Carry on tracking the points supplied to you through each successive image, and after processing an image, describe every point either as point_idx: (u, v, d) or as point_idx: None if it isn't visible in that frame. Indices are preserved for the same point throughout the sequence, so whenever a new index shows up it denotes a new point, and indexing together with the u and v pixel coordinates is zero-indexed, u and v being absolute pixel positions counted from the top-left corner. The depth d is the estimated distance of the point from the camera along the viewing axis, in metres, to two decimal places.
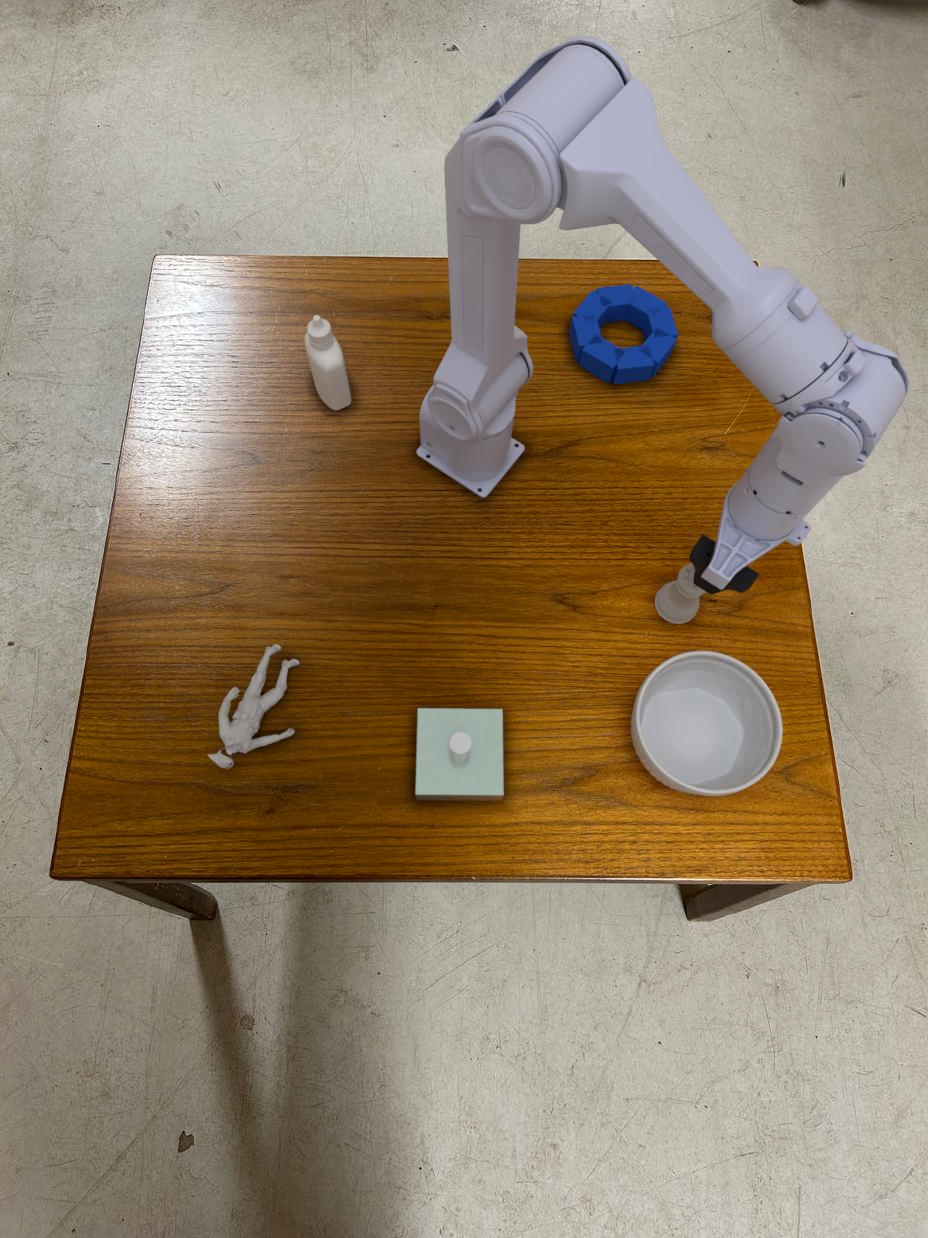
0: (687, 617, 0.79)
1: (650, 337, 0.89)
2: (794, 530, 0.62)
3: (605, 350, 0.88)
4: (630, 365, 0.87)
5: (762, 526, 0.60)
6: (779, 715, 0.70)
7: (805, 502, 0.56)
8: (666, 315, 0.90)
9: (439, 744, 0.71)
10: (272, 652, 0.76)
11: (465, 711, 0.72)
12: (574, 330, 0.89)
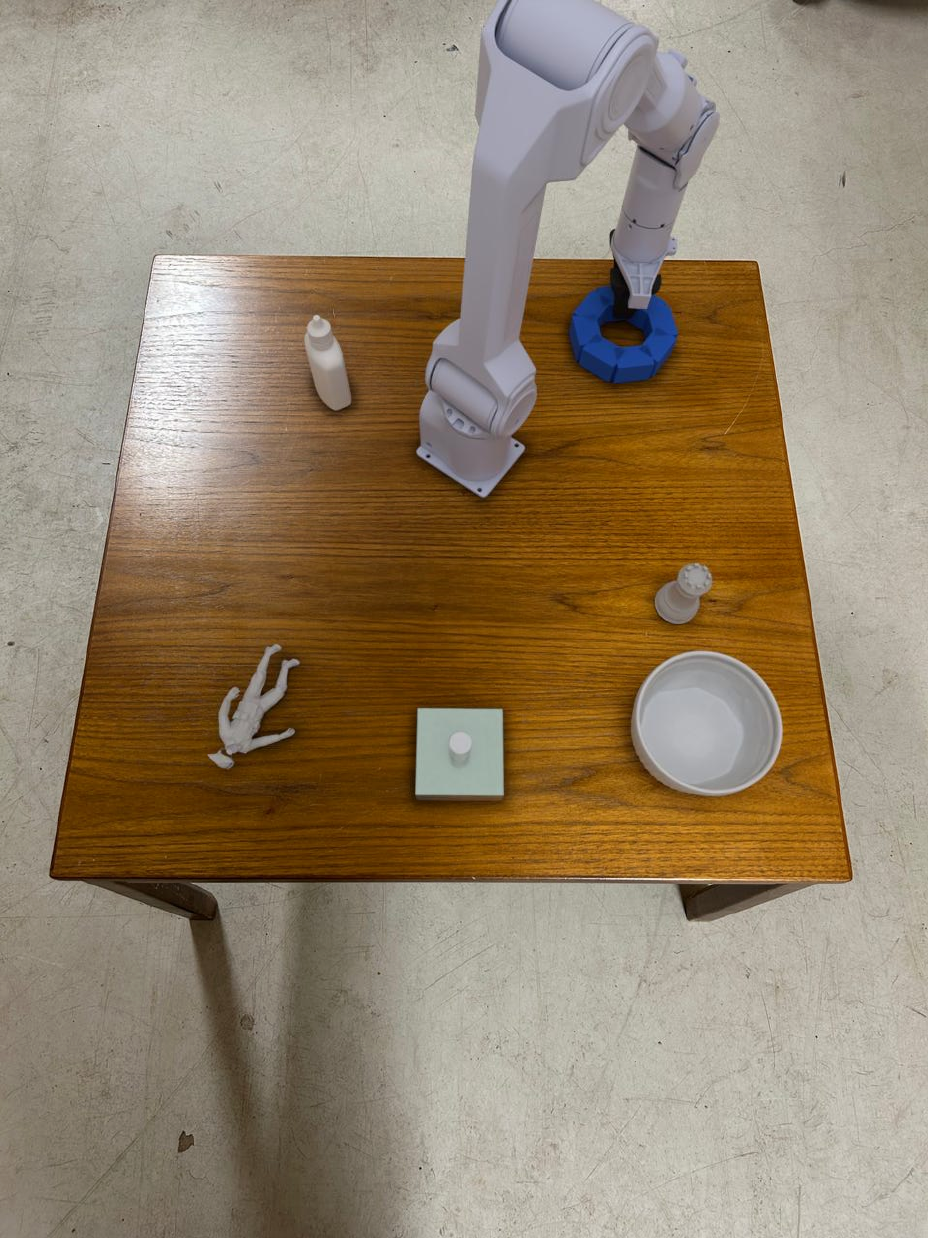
0: (687, 617, 0.79)
1: (650, 336, 0.89)
2: (668, 245, 0.83)
3: (605, 349, 0.88)
4: (630, 364, 0.87)
5: (650, 248, 0.81)
6: (779, 715, 0.70)
7: None
8: (666, 314, 0.90)
9: (439, 744, 0.71)
10: (272, 652, 0.76)
11: (465, 711, 0.72)
12: (574, 329, 0.89)
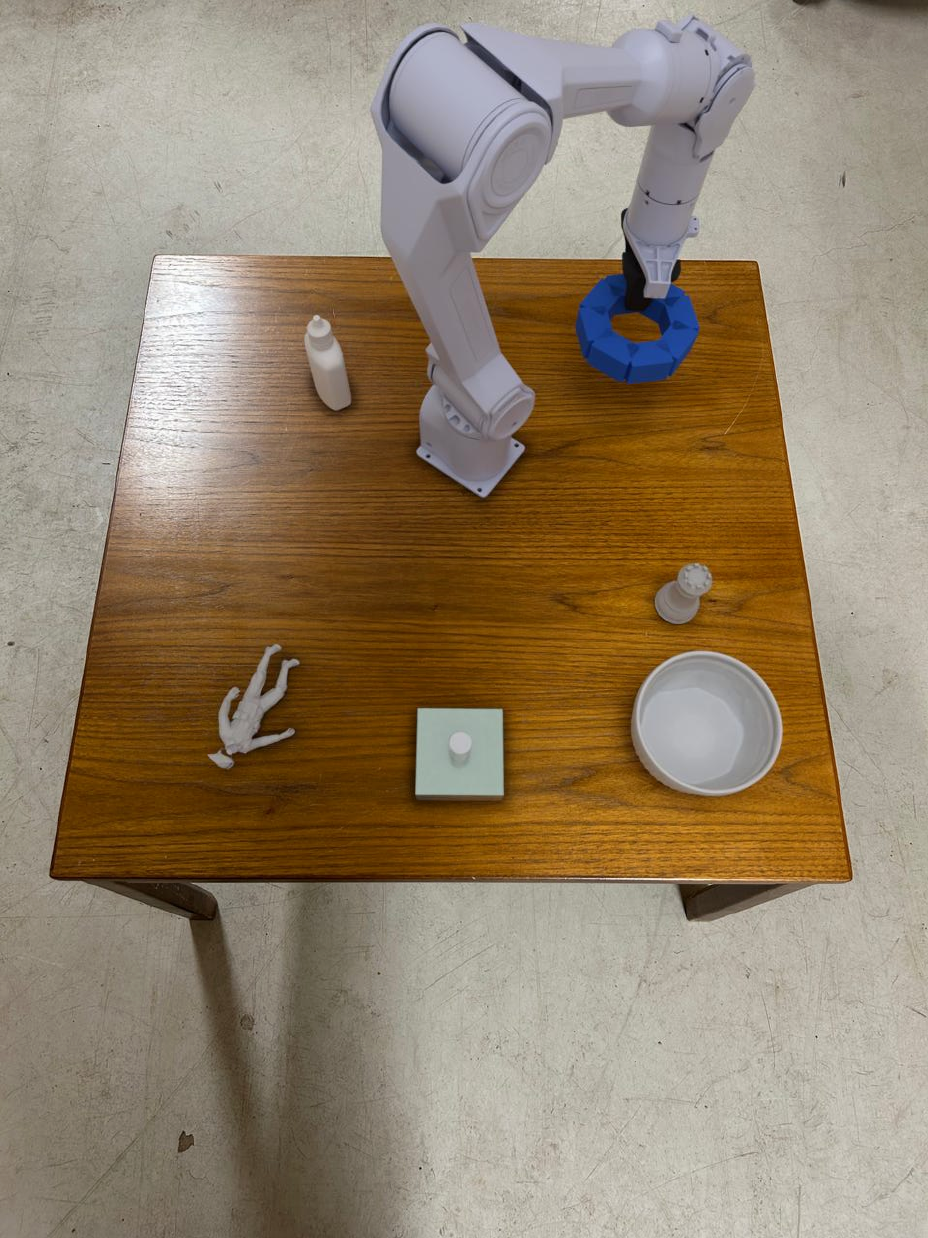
0: (687, 617, 0.79)
1: (668, 330, 0.78)
2: (688, 225, 0.73)
3: (617, 345, 0.77)
4: (646, 362, 0.77)
5: (670, 228, 0.70)
6: (779, 715, 0.70)
7: None
8: (685, 306, 0.79)
9: (439, 744, 0.71)
10: (272, 652, 0.76)
11: (465, 711, 0.72)
12: (581, 323, 0.79)
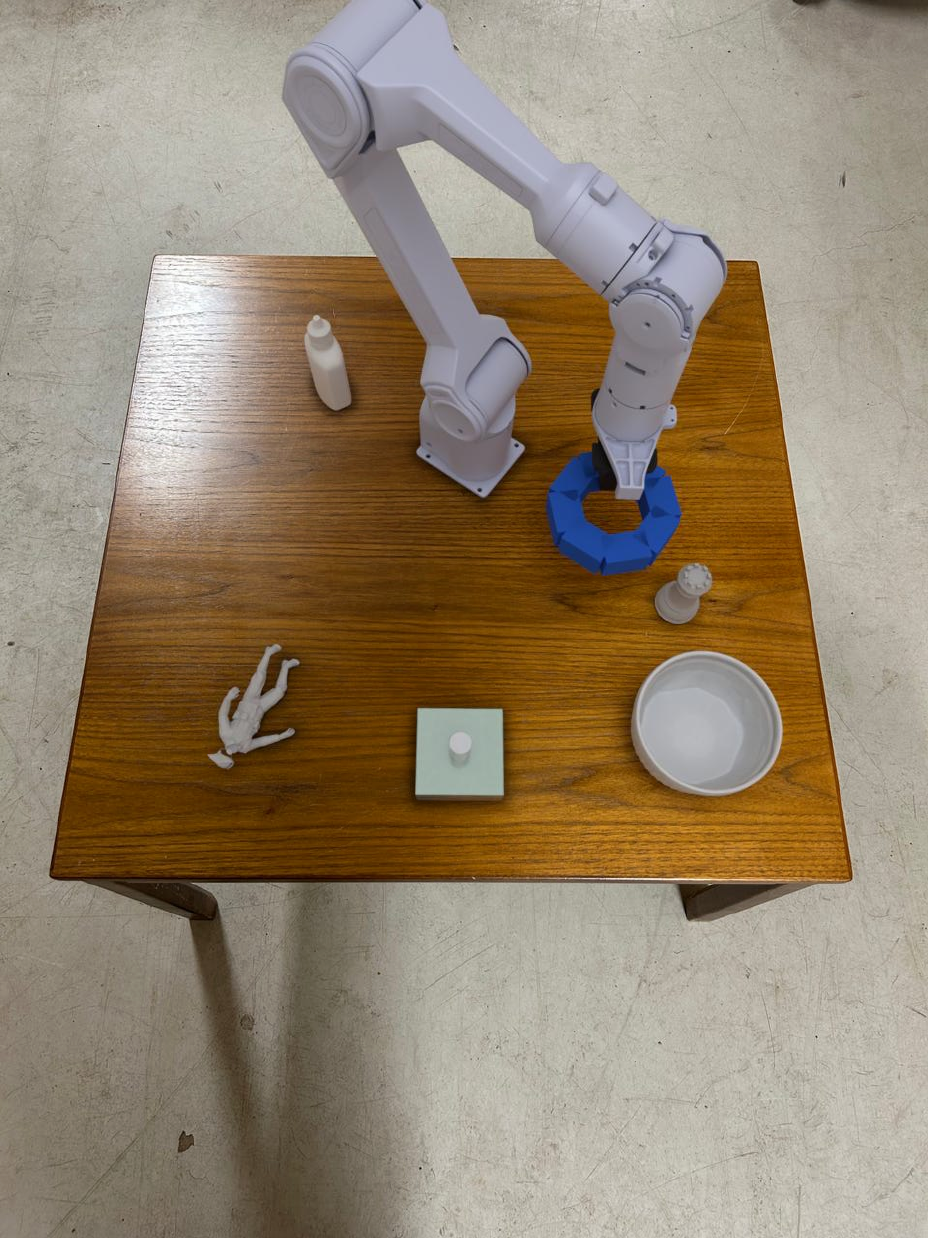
0: (687, 617, 0.79)
1: (647, 519, 0.71)
2: (664, 416, 0.65)
3: (590, 538, 0.70)
4: (622, 557, 0.69)
5: (642, 427, 0.63)
6: (779, 715, 0.70)
7: (654, 394, 0.59)
8: (666, 488, 0.72)
9: (439, 744, 0.71)
10: (272, 652, 0.76)
11: (465, 711, 0.72)
12: (551, 510, 0.71)
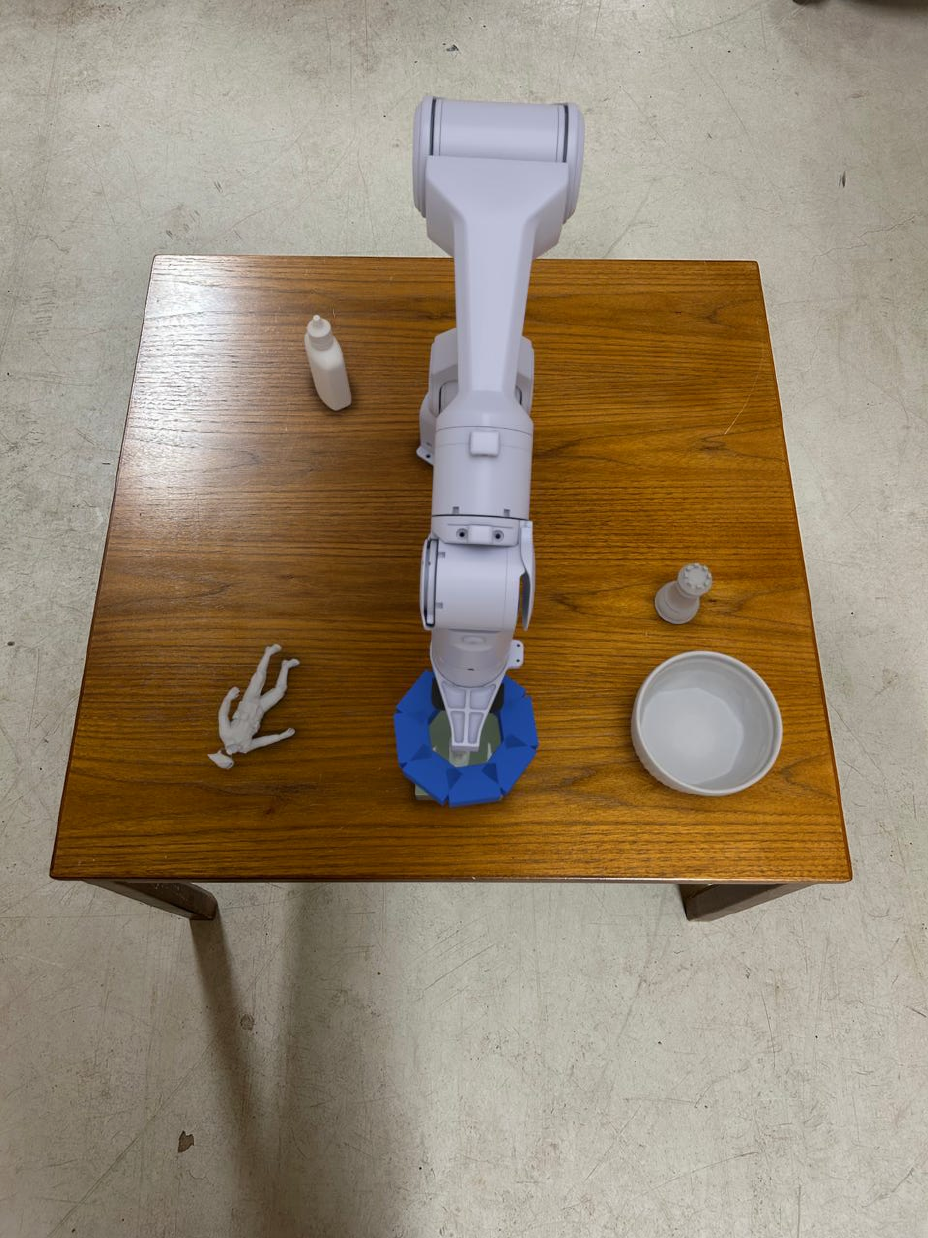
0: (687, 617, 0.79)
1: (499, 749, 0.64)
2: (509, 655, 0.58)
3: (434, 771, 0.63)
4: (467, 797, 0.62)
5: (477, 679, 0.56)
6: (779, 715, 0.70)
7: (440, 647, 0.52)
8: (525, 712, 0.65)
9: (439, 744, 0.71)
10: (272, 652, 0.76)
11: None
12: None
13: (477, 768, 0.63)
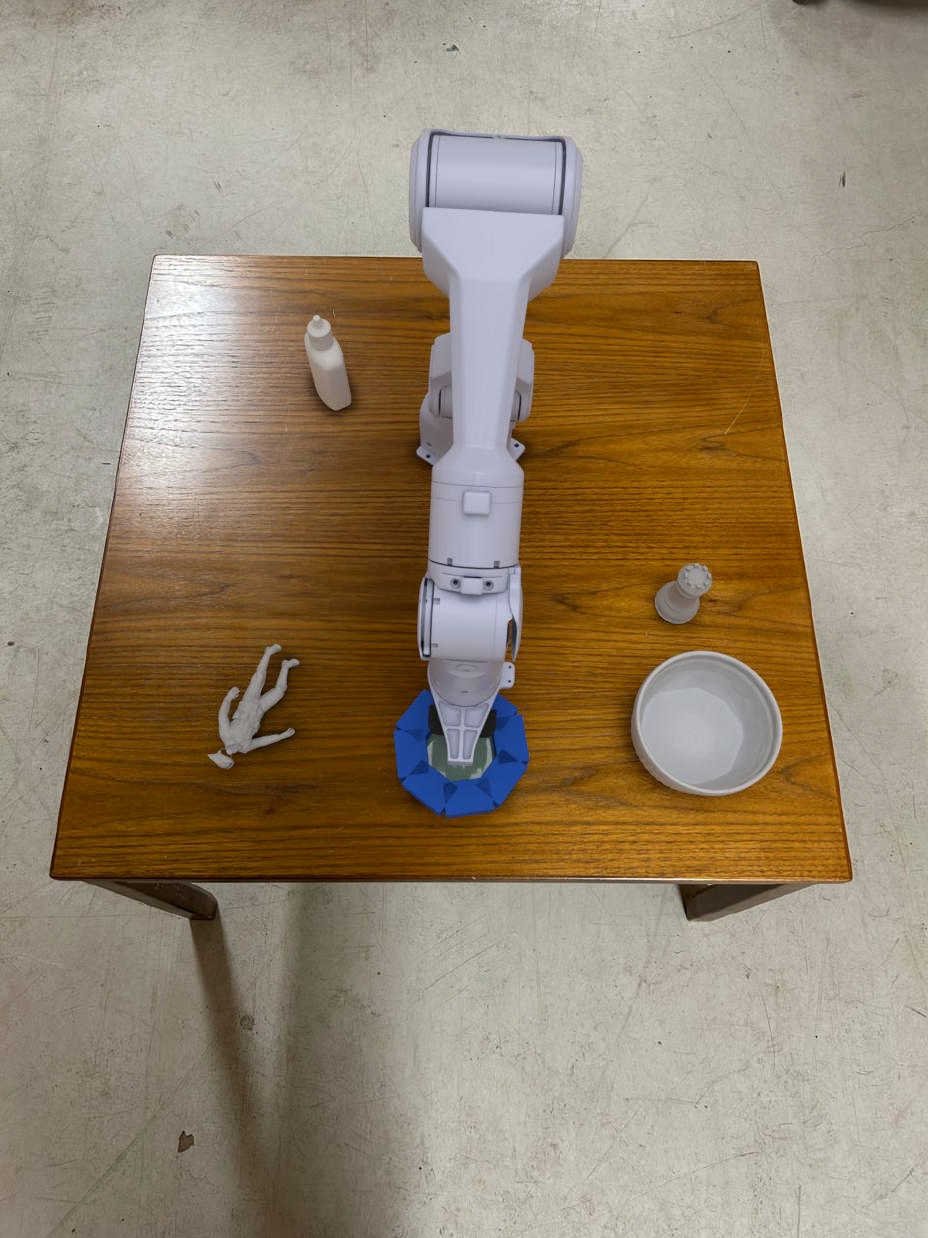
0: (687, 617, 0.79)
1: (492, 765, 0.68)
2: (501, 676, 0.63)
3: (431, 785, 0.67)
4: (462, 809, 0.67)
5: (471, 700, 0.60)
6: (779, 715, 0.70)
7: (436, 672, 0.56)
8: (516, 729, 0.69)
9: (439, 744, 0.71)
10: (272, 652, 0.76)
11: None
12: (395, 750, 0.69)
13: (472, 782, 0.67)
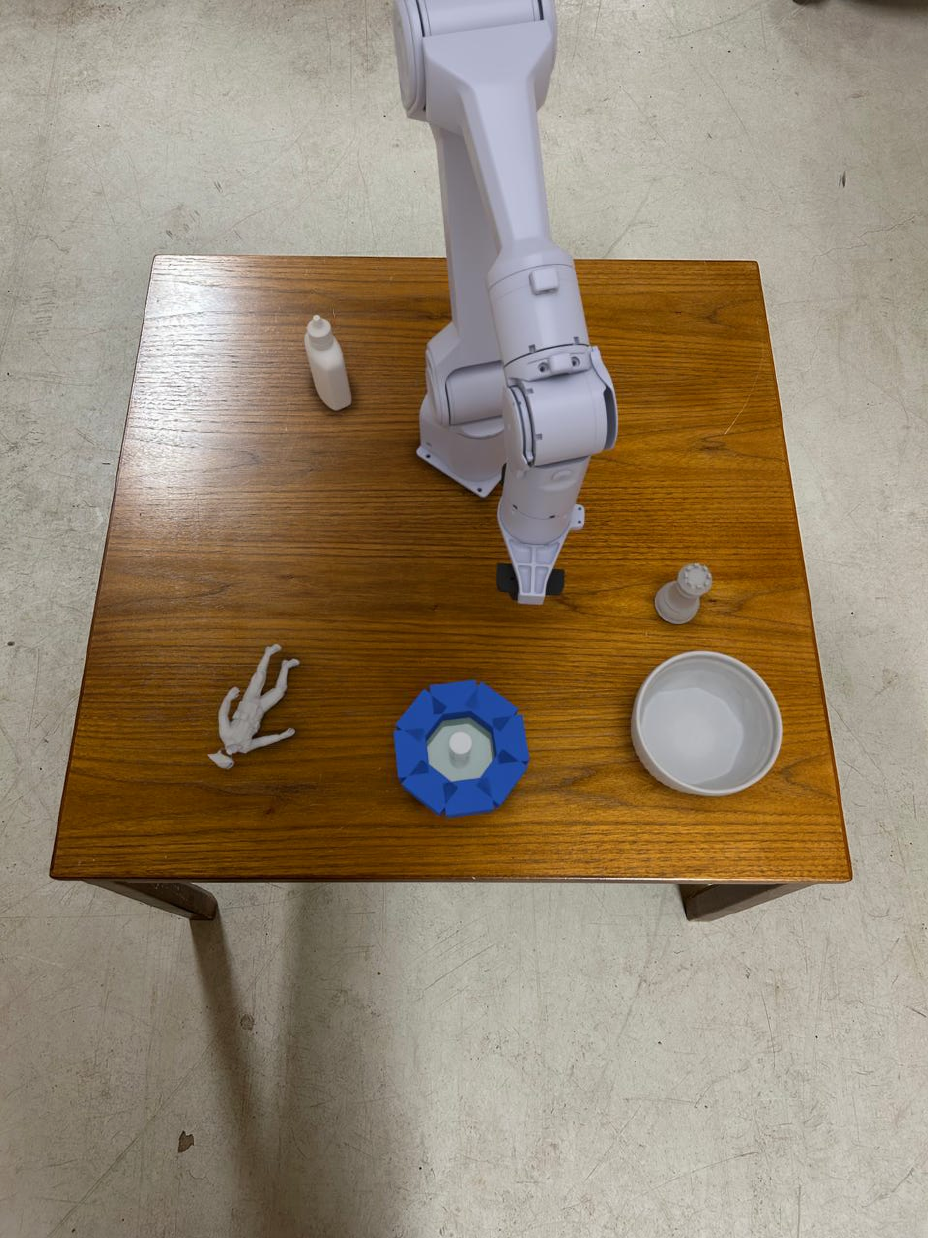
0: (687, 617, 0.79)
1: (492, 765, 0.68)
2: (571, 517, 0.63)
3: (431, 785, 0.67)
4: (462, 809, 0.67)
5: (544, 533, 0.60)
6: (779, 715, 0.70)
7: (523, 501, 0.56)
8: (516, 729, 0.69)
9: (439, 744, 0.71)
10: (272, 652, 0.76)
11: None
12: (395, 750, 0.69)
13: (472, 782, 0.67)
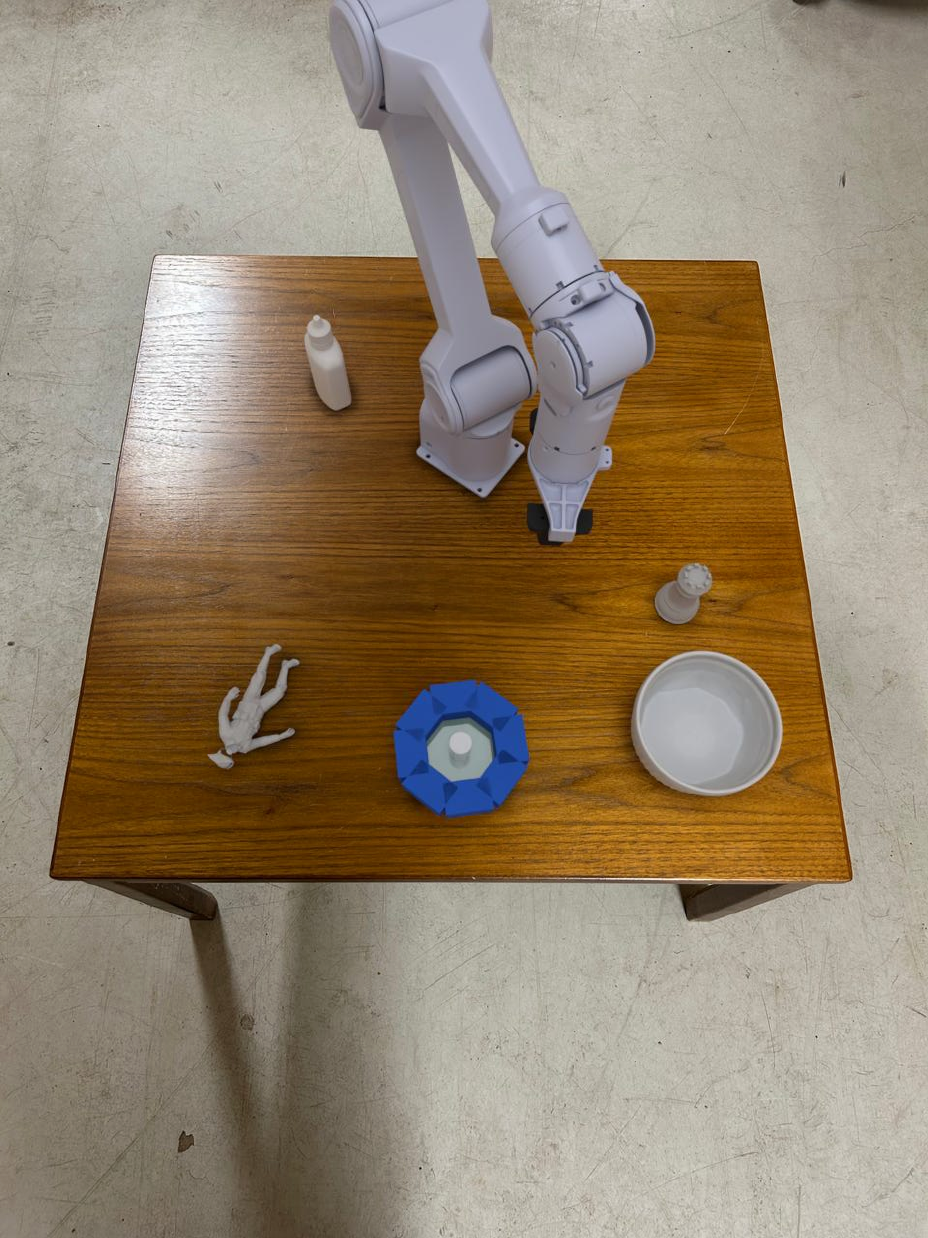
0: (687, 617, 0.79)
1: (492, 765, 0.68)
2: (599, 458, 0.65)
3: (431, 785, 0.67)
4: (462, 809, 0.67)
5: (574, 471, 0.62)
6: (779, 715, 0.70)
7: (566, 439, 0.58)
8: (516, 729, 0.69)
9: (439, 744, 0.71)
10: (272, 652, 0.76)
11: None
12: (395, 750, 0.69)
13: (472, 782, 0.67)
